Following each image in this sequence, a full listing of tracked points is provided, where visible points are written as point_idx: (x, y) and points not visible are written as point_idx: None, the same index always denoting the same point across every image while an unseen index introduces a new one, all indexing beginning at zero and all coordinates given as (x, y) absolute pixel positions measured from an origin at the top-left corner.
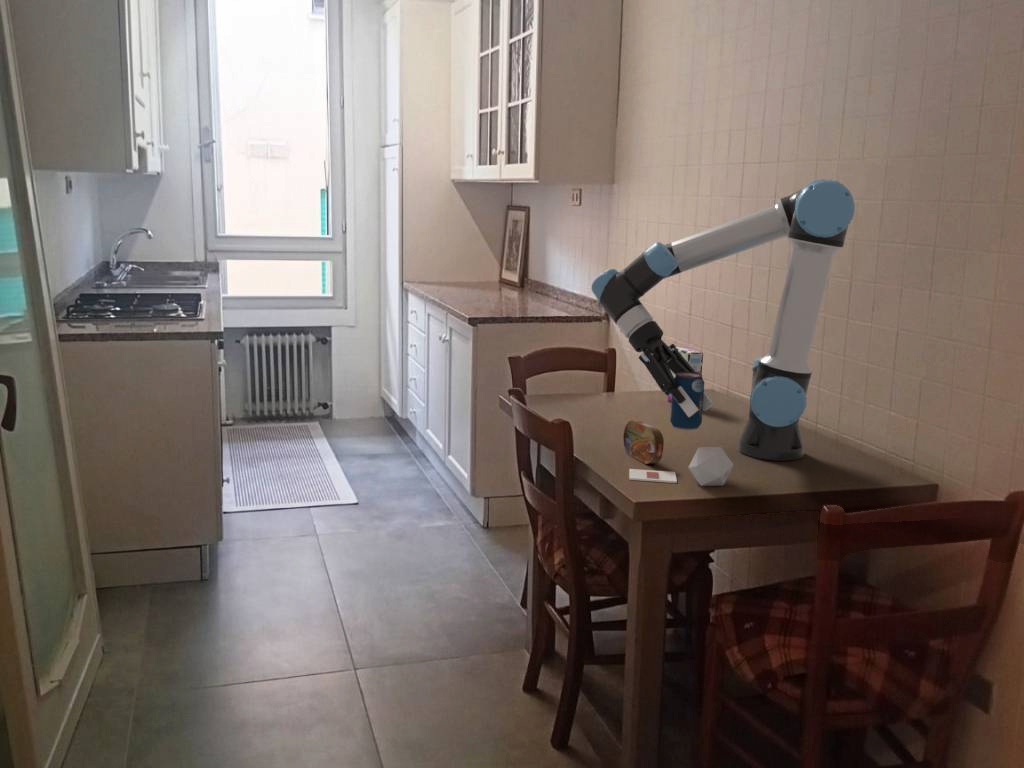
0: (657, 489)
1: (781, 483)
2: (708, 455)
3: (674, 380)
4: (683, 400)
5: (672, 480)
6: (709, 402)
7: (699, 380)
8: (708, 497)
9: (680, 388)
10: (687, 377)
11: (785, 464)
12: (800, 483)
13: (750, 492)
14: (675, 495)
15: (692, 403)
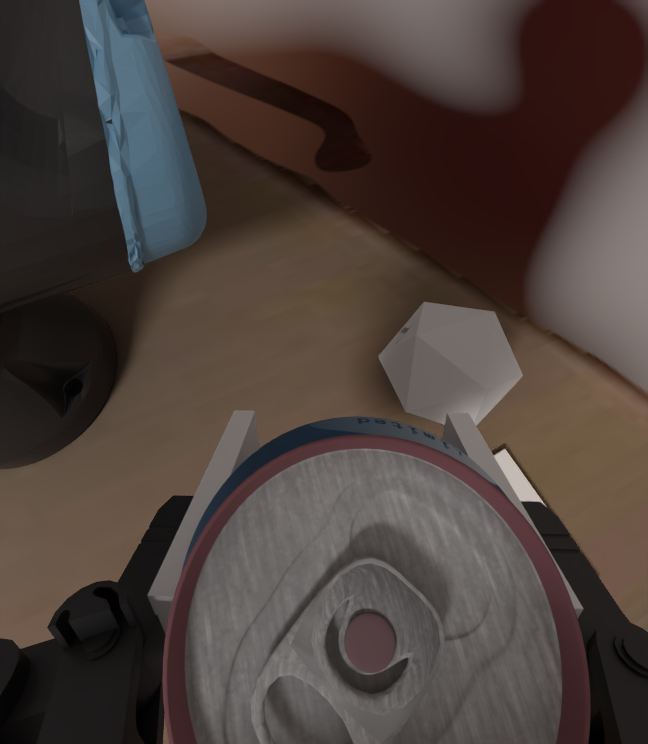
0: (597, 465)
1: (299, 258)
2: (501, 344)
3: (644, 742)
4: (541, 504)
5: (508, 462)
6: (250, 429)
7: (400, 437)
8: (537, 335)
9: (568, 584)
10: (554, 568)
11: (128, 306)
12: (269, 231)
13: (420, 282)
14: (597, 402)
15: (483, 446)
